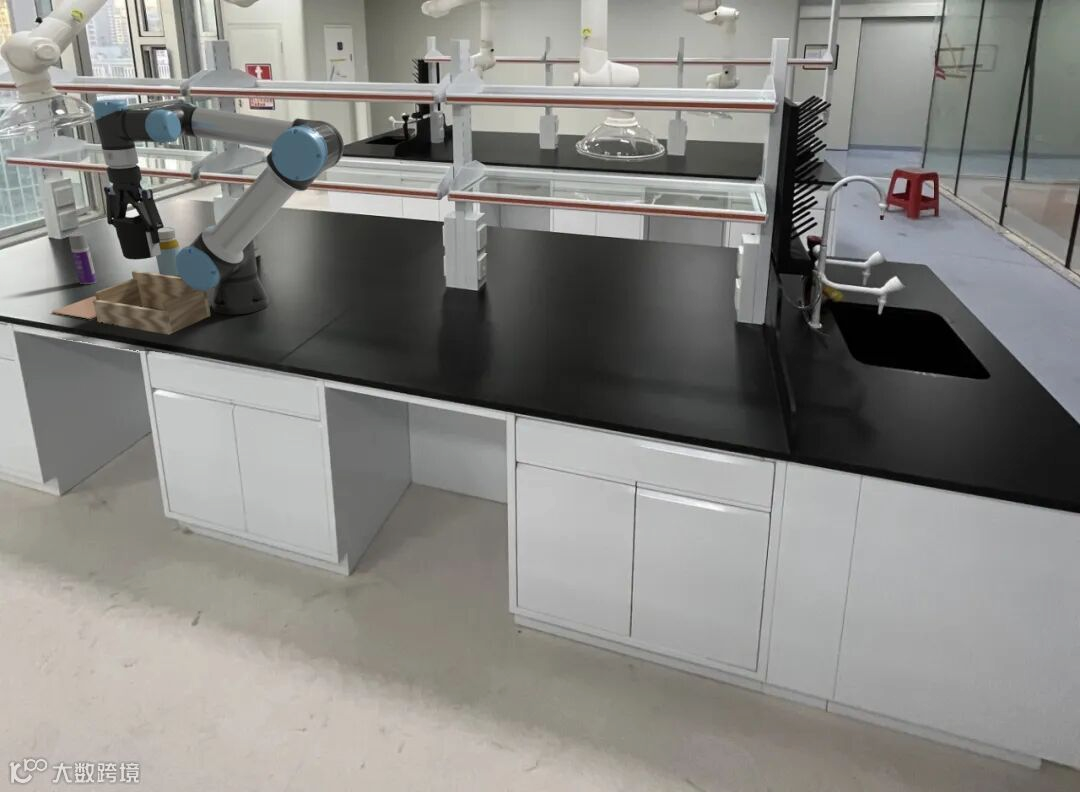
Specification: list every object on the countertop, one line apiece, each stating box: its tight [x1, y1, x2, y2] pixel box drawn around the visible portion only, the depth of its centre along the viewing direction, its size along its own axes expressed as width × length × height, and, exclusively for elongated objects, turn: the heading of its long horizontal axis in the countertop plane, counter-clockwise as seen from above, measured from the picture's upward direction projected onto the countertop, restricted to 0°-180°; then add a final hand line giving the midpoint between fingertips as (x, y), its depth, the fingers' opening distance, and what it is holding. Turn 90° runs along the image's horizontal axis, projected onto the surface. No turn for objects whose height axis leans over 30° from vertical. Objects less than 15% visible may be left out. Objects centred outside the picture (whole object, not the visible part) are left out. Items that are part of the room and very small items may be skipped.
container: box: [68, 232, 98, 286], centre depth 244 cm, size 5×5×15 cm
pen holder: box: [112, 214, 152, 261], centre depth 209 cm, size 9×9×10 cm
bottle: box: [155, 226, 181, 277], centre depth 250 cm, size 7×7×15 cm
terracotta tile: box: [51, 295, 97, 320], centre depth 226 cm, size 14×14×1 cm
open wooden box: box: [93, 270, 212, 335], centre depth 217 cm, size 24×15×10 cm, turn 69°
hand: (141, 253), depth 211 cm, fingers closed on pen holder, 9 cm apart
